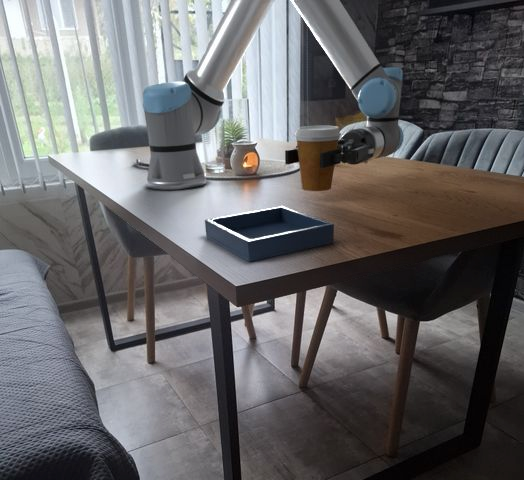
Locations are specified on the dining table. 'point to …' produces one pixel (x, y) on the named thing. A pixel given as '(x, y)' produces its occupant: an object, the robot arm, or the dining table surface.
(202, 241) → the dining table surface
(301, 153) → the disposable coffee cup
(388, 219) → the dining table surface
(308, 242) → the tray
